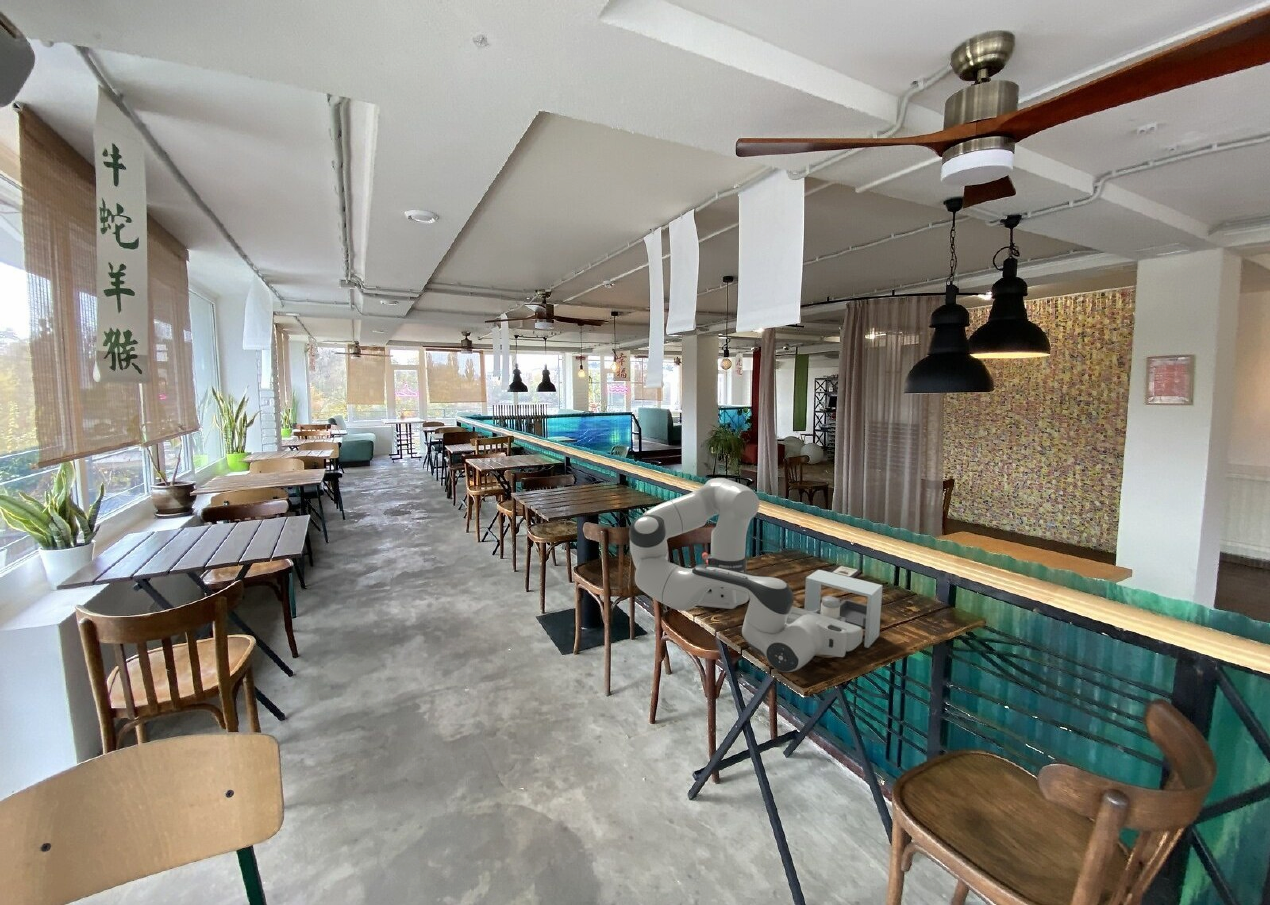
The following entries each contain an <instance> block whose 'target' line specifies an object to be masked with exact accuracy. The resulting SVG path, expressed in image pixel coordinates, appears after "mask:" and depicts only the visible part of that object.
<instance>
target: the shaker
mask: <svg viewBox="0 0 1270 905" xmlns="http://www.w3.org/2000/svg"><path fill="white" fill-rule="evenodd" d="M840 602H841V601H840V599H839V598H838V597H836V596H829V595H825V596H822V597H821V601H820V610H821V612H820V615H823V616H827V617H830V618H833V619H836V620H837V619H838V617H839V616H840V605H839V603H840Z"/></svg>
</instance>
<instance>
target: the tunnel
mask: <svg viewBox="0 0 1270 905" xmlns="http://www.w3.org/2000/svg"><path fill="white" fill-rule="evenodd" d="M822 586H825V587H829V588H834V589H836V590H840V591H845V592H849V593H852V594H856V595H860V596H864V597H866V598H867V601H866V605H867V614H866V629H865V628H864V629H865V631H864V632H865V633H864V648H870V647H871V645H873V643H874V642H875V641H876V640H877V639H878V638H879V637H880V627H881V625H880V624H881V614H882V611H881V610H882V599H883V598H882V596H883V584H879V583H875V582H871V581H867V580H863V579H858V578H856V577H855V578H851V577H847V576H843V575H839V574H835V573H831V572H829V571H826V570H823V569H817V570H816V571H814V572H812V573H811V574H810V575H807V576H806V577H805V588H804V589H805V591H804V592H805V593H804V607H803V608H804V610H807V611H815V610H816V609H818V610H821V599H822V597H821V595H822Z"/></svg>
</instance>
